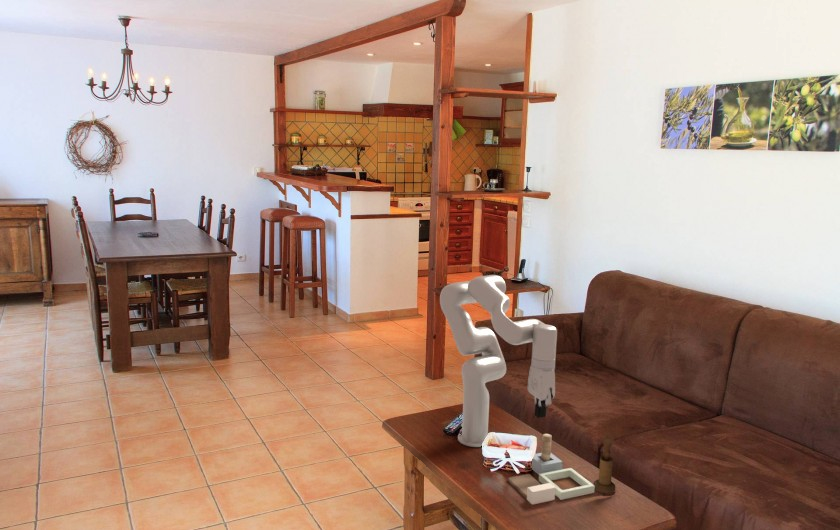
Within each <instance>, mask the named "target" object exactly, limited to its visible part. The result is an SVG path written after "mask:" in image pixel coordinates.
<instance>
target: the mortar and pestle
mask: <svg viewBox="0 0 840 530" xmlns="http://www.w3.org/2000/svg"><path fill="white" fill-rule="evenodd" d="M602 444H603V446H604V449H603V455H601V456H600V457H599V467H598V468H599V469H598V470H599V471H598V479H596V480H595V481H593V485H594V486H595V489H594V491H597V492H598V493H601V496H602V497H611V496H614V495H615V494H616V493H615V492H616V484H615V483H614V482H613V481H612V475H613V474H612V473H613V465H614V459H613V457H612V456H611V453H612V451H611V450H610V449H611V448H612V446H613V444H614V442H613V439H612V438H611V437H610V436H605V437H603V440H602Z"/></svg>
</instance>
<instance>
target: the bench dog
mask: <svg viewBox="0 0 840 530" xmlns="http://www.w3.org/2000/svg"><path fill="white" fill-rule="evenodd" d="M555 498H556V495H555V487H554V486H553V485H552V484H551V483H547V484H542V483H541V485H537V486H532V487H528V488H527V499H526V500H527V501H528V503H529V504H531V505H536V504H541V503H546V502H551V501H554V500H555Z"/></svg>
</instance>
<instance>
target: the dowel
mask: <svg viewBox="0 0 840 530" xmlns="http://www.w3.org/2000/svg"><path fill="white" fill-rule="evenodd" d="M552 438H553V436H552V434H549V433H543V434H542V440H541V452H540V453H541V460H542V461H543V462H546V461H550V456H551V453H552Z"/></svg>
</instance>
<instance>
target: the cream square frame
mask: <svg viewBox="0 0 840 530" xmlns="http://www.w3.org/2000/svg"><path fill="white" fill-rule="evenodd" d="M566 478H571V479H572V480H573V481H575V482H576V483H577V484H579V485H580V486H576V487H571V488H566V489H562V488H560V487H559V486H558V485H557V484H556V483H555V482H553V481H556V480H561V479H566ZM538 482H539V483H540V484H541V485H542V484H547V483H551V484H552V485H553V486H554V487H555V497H557V498H559V500H560V501H561V500H562V501H563V500H565V499H572V498H576V497H580V496H584V495H585V496H586V495H589V494H594V493H595V486H594V483H592V482H591V481H589V480H588V479H586V478H585V477H584V476H582V474H580V473H579V472H578V471H576V470H575V469H573V468H572V467H568V468H562V470H557V471H552V472H547V473H542V474H539V475H538Z"/></svg>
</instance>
